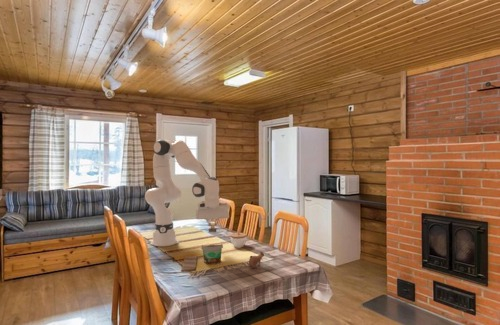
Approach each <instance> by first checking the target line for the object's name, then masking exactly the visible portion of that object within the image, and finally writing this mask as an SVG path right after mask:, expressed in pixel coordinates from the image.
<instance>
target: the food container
mask: <svg viewBox="0 0 500 325" xmlns="http://www.w3.org/2000/svg"><path fill="white" fill-rule="evenodd" d="M223 248H224V245H223V243H221V244H210V245H203V244H202V245H201V247H200V249H201V250H202V255H203V263H204V264H206V265H217V263H218V264H219V262H220V263H221V262H222V260H221V259H222V250H223Z"/></svg>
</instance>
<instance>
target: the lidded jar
mask: <svg viewBox="0 0 500 325" xmlns="http://www.w3.org/2000/svg"><path fill="white" fill-rule="evenodd" d="M247 236H248V235H247V233H245V232H239V231H238V232H234V233H231V234H230V242H231V245H232V246H233V247H234V248H238V249H239V248H243V247H244V246H245V245H246V243H247Z"/></svg>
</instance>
